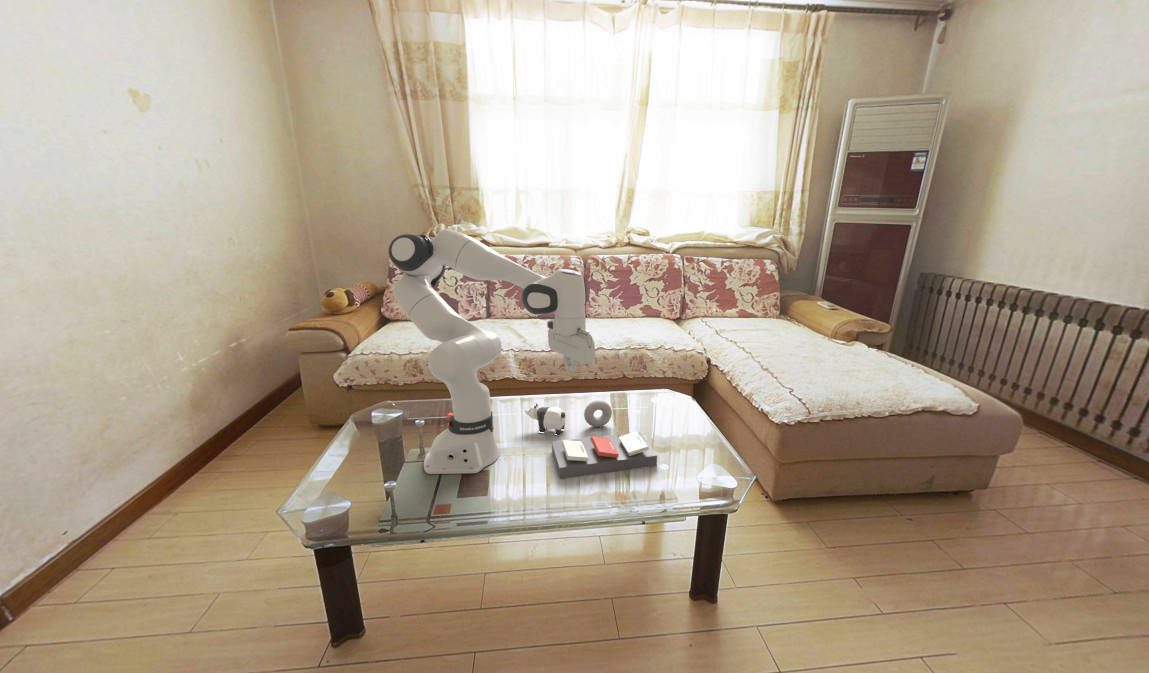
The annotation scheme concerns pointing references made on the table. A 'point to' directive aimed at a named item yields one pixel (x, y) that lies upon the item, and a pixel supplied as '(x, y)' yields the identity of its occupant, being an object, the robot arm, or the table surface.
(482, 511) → the table surface
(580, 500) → the table surface
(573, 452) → the rocker left
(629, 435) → the rocker right
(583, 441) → the rocker switch panel
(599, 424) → the donut
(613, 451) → the rocker middle
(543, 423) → the giant panda
